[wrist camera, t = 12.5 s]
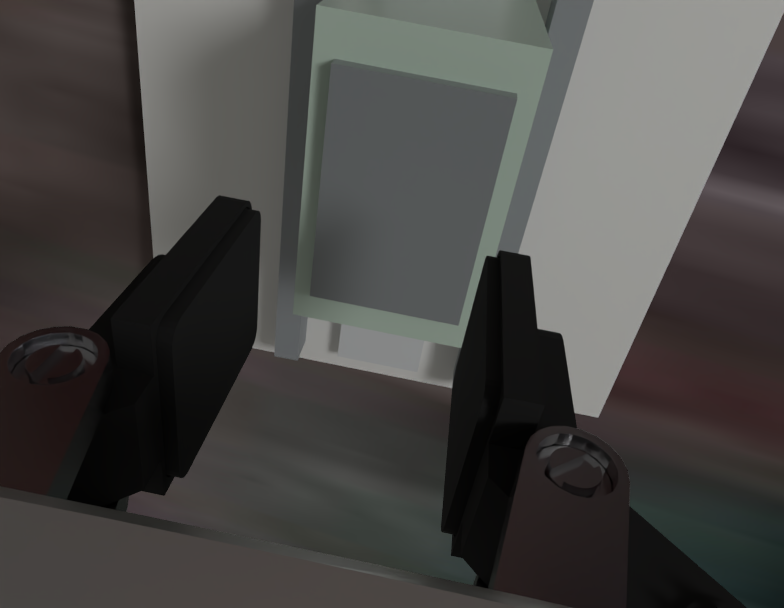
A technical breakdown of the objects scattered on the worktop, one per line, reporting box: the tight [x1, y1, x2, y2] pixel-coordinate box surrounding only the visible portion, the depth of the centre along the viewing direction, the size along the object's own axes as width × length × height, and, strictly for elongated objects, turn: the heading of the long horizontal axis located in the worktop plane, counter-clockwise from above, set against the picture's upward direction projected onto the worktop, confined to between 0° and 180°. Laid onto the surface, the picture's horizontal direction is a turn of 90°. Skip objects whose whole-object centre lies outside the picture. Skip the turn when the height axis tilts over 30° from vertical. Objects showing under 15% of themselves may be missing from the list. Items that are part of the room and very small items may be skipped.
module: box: [293, 0, 553, 348], centre depth 18 cm, size 5×8×7 cm, turn 171°
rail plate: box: [134, 0, 784, 417], centre depth 22 cm, size 20×24×3 cm
